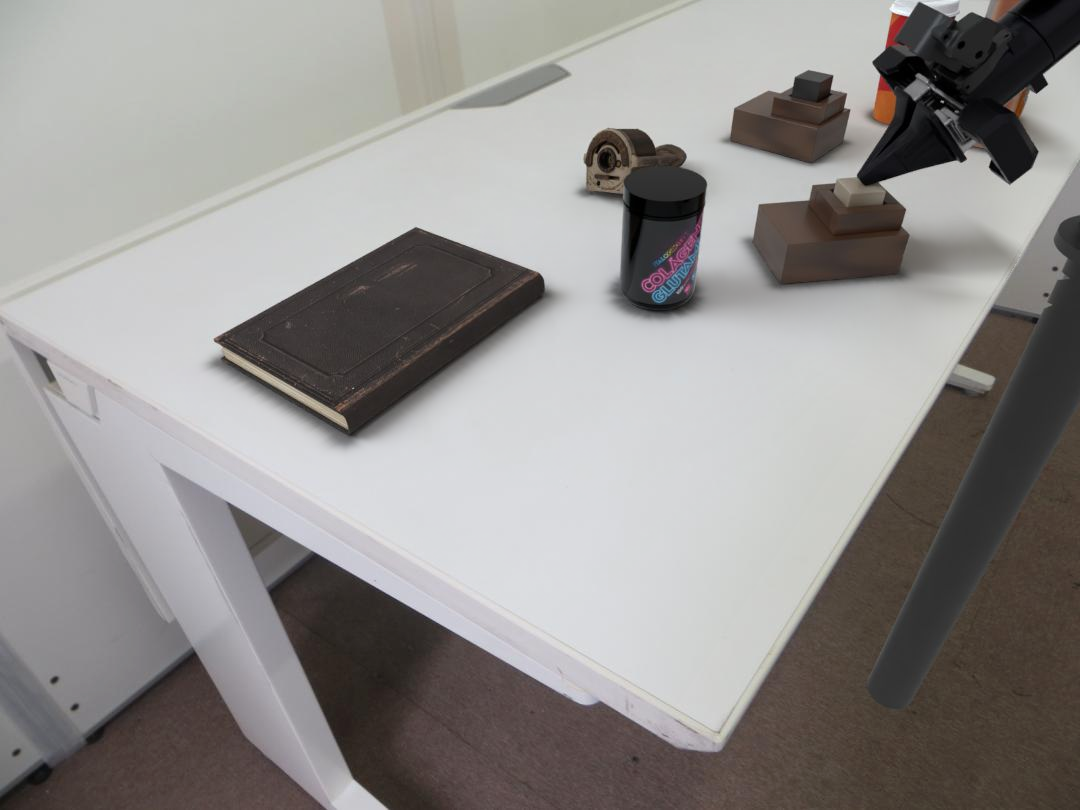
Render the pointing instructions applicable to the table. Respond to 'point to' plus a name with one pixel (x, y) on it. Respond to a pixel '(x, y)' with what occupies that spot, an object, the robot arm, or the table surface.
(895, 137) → the robot arm
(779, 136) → the push button base
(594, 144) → the mechanical counter
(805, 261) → the brown push button box
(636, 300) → the supplement container
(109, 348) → the table surface
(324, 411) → the hardcover book
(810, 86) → the black key
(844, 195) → the ivory key
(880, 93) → the paper cup
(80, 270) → the table surface
